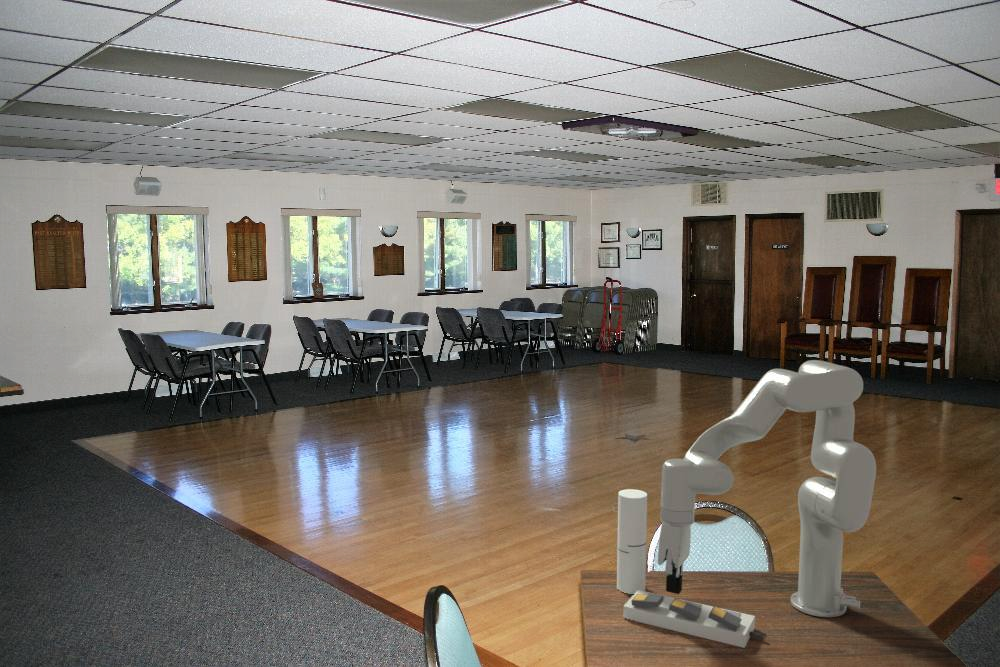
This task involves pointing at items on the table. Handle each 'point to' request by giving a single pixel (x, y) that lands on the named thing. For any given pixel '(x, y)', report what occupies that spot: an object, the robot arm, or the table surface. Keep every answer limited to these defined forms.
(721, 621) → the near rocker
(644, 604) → the far rocker
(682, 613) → the middle rocker
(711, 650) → the table surface
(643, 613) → the power strip
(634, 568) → the cylindrical container
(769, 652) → the table surface
